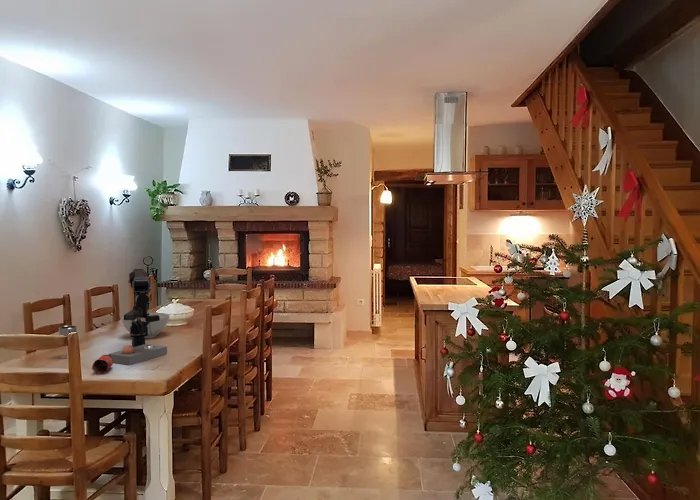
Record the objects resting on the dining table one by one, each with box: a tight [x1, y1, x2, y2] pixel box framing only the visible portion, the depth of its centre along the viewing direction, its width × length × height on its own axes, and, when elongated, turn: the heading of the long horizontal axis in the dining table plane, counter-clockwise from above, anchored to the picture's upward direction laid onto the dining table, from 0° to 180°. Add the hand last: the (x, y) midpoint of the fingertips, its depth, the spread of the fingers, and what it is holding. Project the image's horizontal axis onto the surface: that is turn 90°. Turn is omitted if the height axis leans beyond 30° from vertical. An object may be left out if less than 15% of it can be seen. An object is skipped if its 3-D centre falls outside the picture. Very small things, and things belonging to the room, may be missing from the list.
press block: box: [108, 343, 168, 366], centre depth 266 cm, size 14×24×4 cm, turn 155°
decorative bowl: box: [121, 312, 171, 339], centre depth 318 cm, size 27×27×12 cm
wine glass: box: [58, 325, 78, 359], centre depth 268 cm, size 8×8×15 cm
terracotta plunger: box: [122, 345, 133, 354], centre depth 260 cm, size 4×4×4 cm
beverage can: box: [91, 354, 114, 375], centre depth 242 cm, size 7×12×7 cm, turn 11°
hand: (141, 334), depth 267 cm, fingers closed
